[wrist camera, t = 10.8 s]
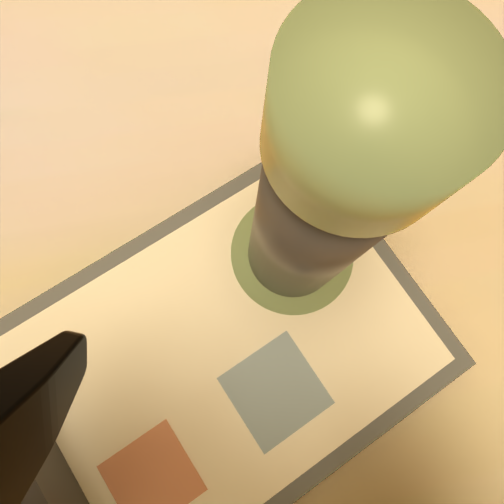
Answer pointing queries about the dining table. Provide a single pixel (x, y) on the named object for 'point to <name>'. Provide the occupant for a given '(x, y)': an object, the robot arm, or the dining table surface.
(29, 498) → the button housing
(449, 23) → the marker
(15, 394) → the robot arm
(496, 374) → the dining table surface
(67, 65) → the dining table surface
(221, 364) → the colouring board
